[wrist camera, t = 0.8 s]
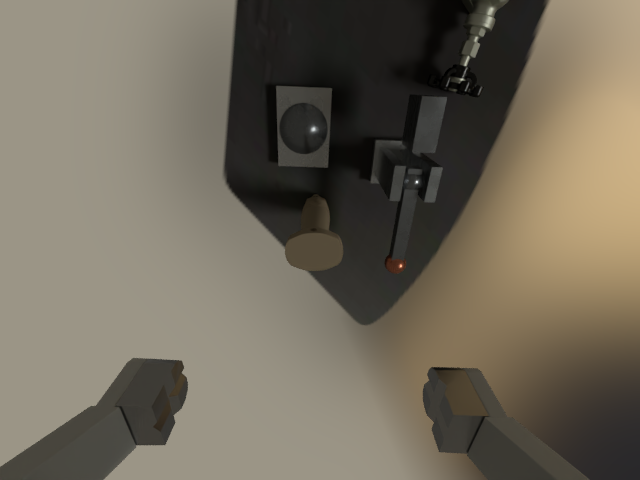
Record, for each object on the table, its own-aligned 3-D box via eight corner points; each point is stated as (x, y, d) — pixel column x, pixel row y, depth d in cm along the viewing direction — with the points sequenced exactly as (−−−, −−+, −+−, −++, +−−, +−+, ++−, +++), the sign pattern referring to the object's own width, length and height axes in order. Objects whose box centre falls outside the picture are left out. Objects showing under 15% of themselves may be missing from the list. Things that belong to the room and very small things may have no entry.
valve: (459, -37, 32) (418, 83, 38) (490, -64, 26) (436, 84, 32) (514, -20, 33) (465, 96, 38) (555, -42, 27) (491, 98, 32)
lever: (408, 94, 32) (420, 96, 28) (433, 95, 32) (449, 97, 28) (380, 262, 42) (386, 280, 38) (400, 263, 42) (407, 281, 38)
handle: (294, 188, 44) (283, 233, 31) (336, 187, 44) (343, 232, 31) (296, 217, 47) (286, 271, 33) (336, 216, 46) (342, 270, 33)
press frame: (277, 85, 38) (262, 86, 28) (428, 92, 38) (466, 95, 28) (280, 176, 43) (268, 204, 34) (411, 181, 44) (437, 210, 34)
